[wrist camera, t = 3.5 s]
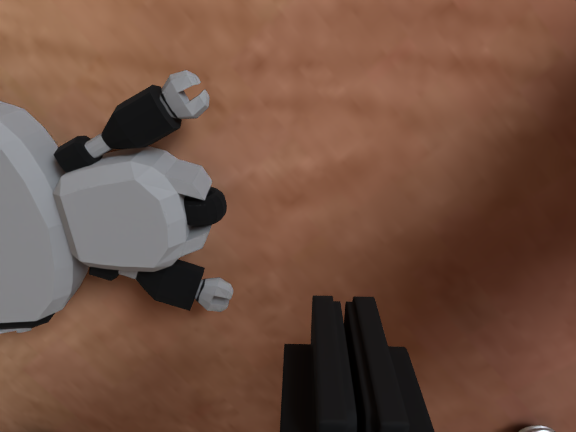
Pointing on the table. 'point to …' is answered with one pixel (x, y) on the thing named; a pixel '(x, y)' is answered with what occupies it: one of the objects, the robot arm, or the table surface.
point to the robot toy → (104, 208)
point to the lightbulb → (536, 429)
